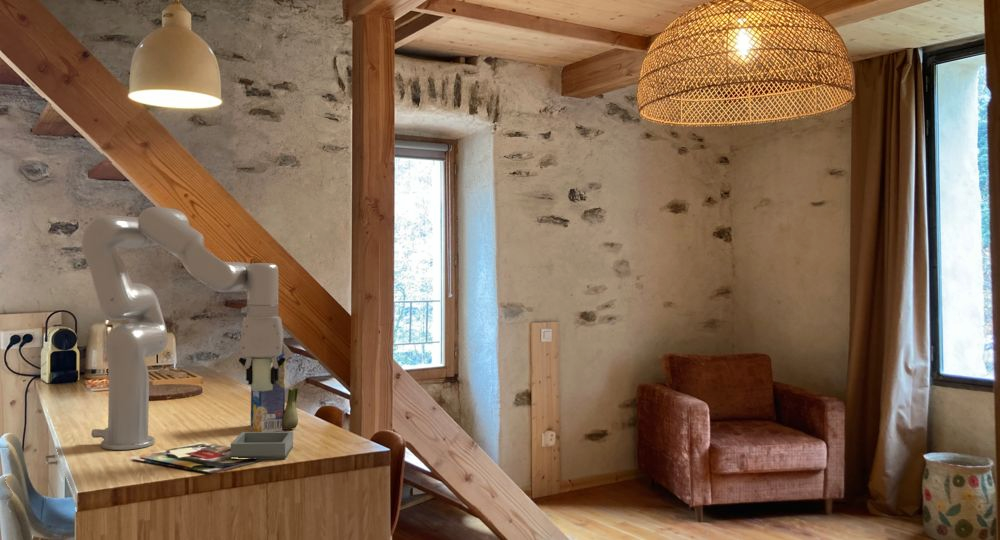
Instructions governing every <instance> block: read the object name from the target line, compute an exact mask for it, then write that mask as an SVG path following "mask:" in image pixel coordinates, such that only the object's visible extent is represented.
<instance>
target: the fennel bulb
mask: <svg viewBox="0 0 1000 540" xmlns="http://www.w3.org/2000/svg"><path fill="white" fill-rule="evenodd" d="M298 392H299V387H291V388H289V389H288V392H287V393H288V394H287V402H286V405H285V411H284V414H283V418H282V423H281V426H282V428H284V430H292V429H295V428H297V426H298V423H299V416H298V411H297V399H298Z"/></svg>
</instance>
